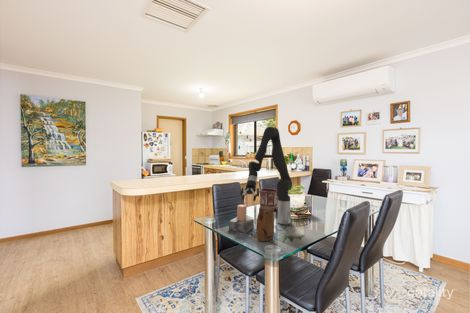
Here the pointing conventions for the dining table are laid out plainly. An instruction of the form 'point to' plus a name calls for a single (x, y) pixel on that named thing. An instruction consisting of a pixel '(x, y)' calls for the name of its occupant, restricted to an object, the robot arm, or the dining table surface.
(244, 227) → the charcoal plinth
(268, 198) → the reddish brown crate
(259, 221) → the block
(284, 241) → the dining table surface
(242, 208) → the terracotta block
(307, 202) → the candy box
